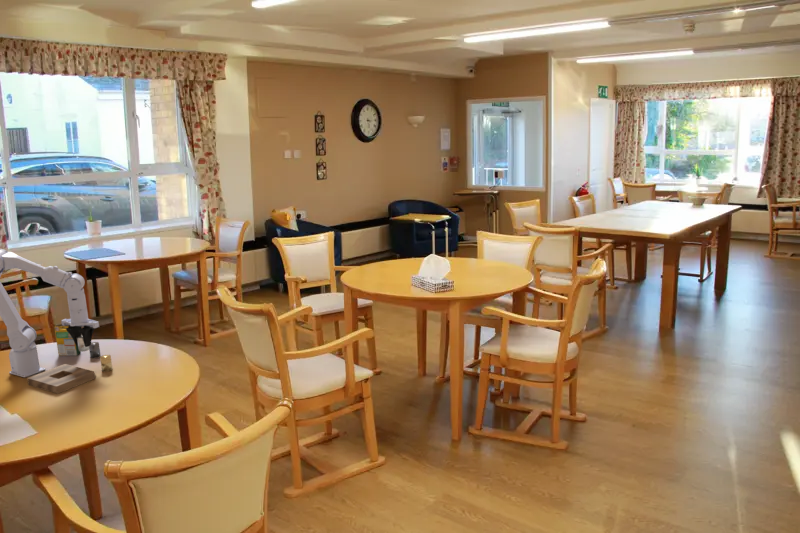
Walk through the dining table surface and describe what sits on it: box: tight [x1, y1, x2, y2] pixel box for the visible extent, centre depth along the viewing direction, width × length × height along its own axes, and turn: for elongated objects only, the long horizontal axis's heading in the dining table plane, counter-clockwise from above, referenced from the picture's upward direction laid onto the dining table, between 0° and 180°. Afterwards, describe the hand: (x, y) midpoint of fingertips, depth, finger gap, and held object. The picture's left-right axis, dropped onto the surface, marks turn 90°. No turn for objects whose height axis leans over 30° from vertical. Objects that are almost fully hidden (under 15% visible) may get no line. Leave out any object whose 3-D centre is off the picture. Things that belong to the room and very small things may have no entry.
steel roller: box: [77, 334, 89, 353], centre depth 247 cm, size 4×4×5 cm
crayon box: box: [54, 325, 82, 357], centre depth 260 cm, size 7×3×12 cm, turn 85°
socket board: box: [26, 363, 96, 394], centre depth 235 cm, size 16×14×2 cm
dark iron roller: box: [88, 341, 102, 359], centre depth 258 cm, size 4×4×5 cm
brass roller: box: [99, 354, 114, 373], centre depth 244 cm, size 4×4×5 cm
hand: (83, 345), depth 247 cm, fingers closed on steel roller, 3 cm apart
